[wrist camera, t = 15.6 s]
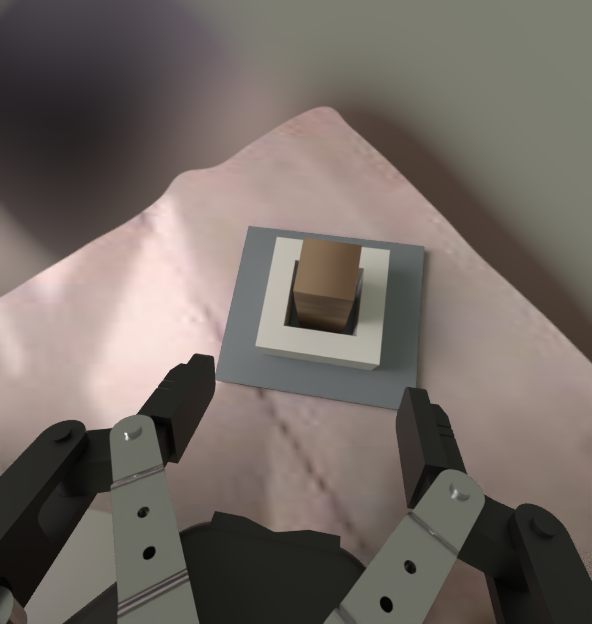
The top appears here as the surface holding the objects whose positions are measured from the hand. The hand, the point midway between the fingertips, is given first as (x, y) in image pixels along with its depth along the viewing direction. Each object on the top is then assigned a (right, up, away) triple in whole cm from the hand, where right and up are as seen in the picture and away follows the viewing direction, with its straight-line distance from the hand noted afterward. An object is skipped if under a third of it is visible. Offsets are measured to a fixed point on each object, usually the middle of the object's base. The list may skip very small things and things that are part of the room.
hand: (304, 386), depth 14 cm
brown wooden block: (+2, +3, +18) cm, 18 cm away
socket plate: (+2, +3, +19) cm, 19 cm away
